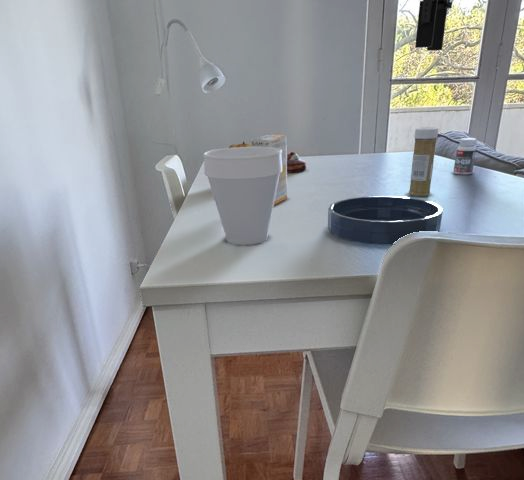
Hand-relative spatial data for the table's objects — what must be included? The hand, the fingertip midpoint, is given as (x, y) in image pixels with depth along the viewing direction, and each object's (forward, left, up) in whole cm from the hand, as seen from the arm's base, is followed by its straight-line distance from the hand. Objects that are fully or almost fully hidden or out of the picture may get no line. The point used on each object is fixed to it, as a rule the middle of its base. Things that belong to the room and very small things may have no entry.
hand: (429, 49), depth 86 cm
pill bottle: (-24, -28, -27) cm, 46 cm away
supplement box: (+29, -5, -27) cm, 41 cm away
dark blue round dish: (+12, +22, -27) cm, 37 cm away
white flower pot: (+35, +22, -27) cm, 50 cm away
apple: (+34, -30, -27) cm, 53 cm away
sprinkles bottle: (-4, -5, -27) cm, 28 cm away
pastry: (+19, -45, -27) cm, 56 cm away
